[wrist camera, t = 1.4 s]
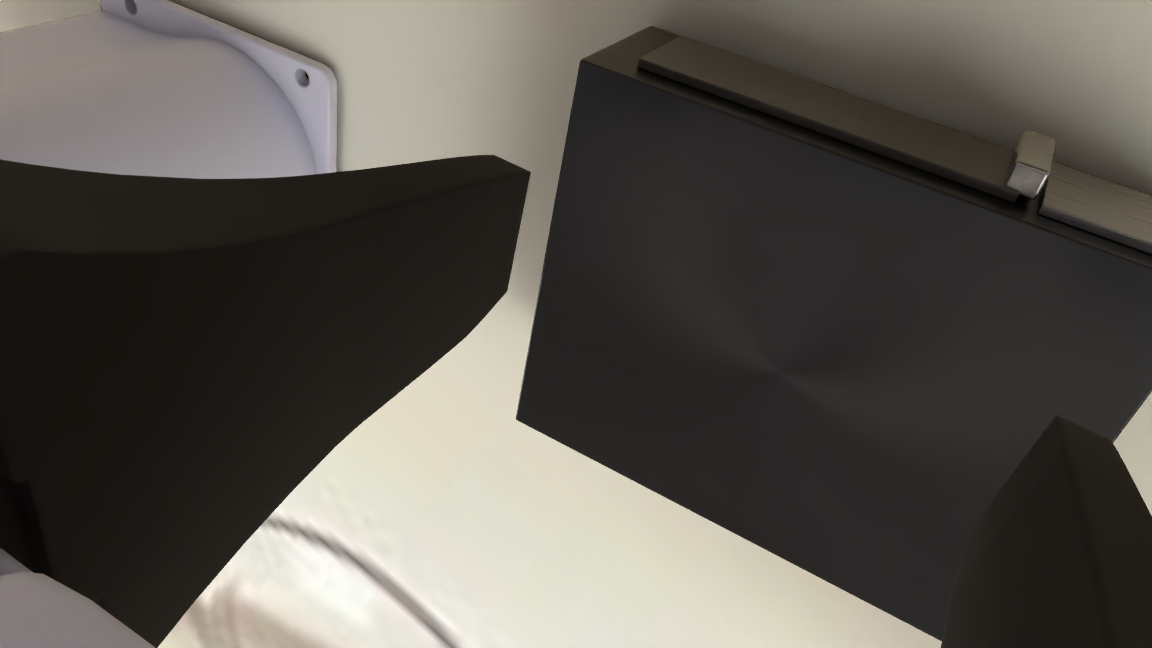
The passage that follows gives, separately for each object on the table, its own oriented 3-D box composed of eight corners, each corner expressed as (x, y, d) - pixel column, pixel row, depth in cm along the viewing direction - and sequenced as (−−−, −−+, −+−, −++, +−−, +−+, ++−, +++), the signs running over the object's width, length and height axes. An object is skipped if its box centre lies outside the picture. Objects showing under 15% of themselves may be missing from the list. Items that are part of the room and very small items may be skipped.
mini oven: (576, 356, 26) (514, 419, 23) (657, -5, 20) (586, 24, 17) (977, 550, 22) (958, 650, 20) (1231, 184, 16) (1251, 259, 14)
